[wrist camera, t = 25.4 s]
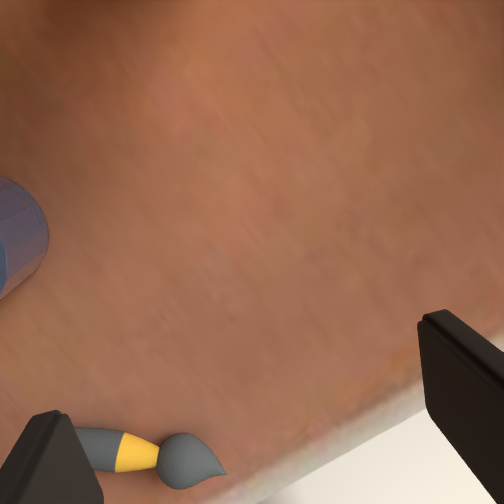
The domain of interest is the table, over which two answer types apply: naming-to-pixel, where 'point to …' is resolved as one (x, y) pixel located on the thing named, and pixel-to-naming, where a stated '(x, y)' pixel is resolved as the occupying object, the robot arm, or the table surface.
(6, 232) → the cup
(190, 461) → the paintbrush
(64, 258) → the table surface
